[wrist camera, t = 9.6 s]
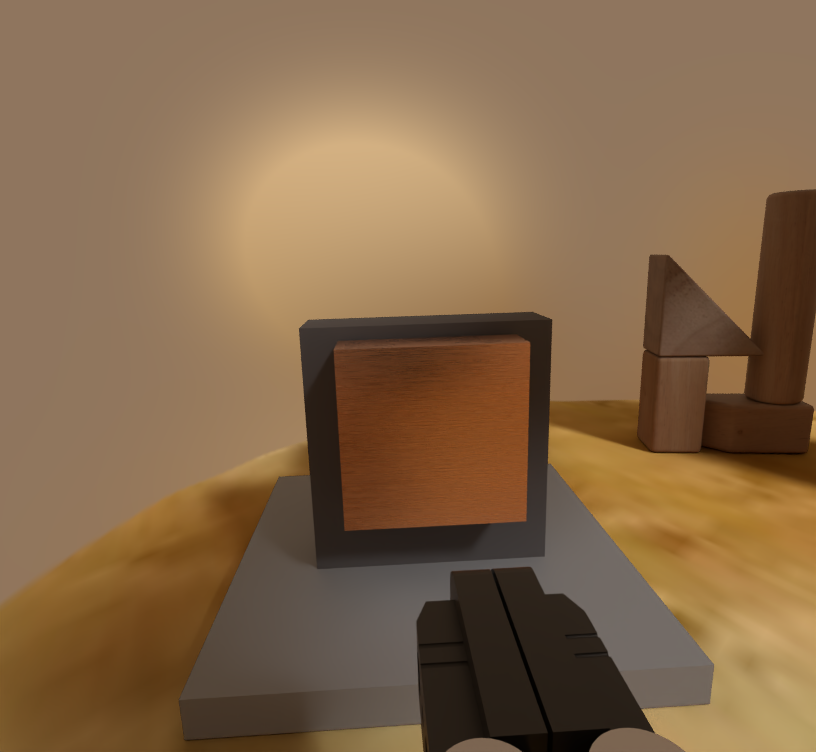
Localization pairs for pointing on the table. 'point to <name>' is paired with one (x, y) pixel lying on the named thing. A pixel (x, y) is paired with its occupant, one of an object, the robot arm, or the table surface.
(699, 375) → the wooden block
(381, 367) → the sliding block
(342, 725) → the base plate
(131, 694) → the table surface
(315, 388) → the rubber collar
